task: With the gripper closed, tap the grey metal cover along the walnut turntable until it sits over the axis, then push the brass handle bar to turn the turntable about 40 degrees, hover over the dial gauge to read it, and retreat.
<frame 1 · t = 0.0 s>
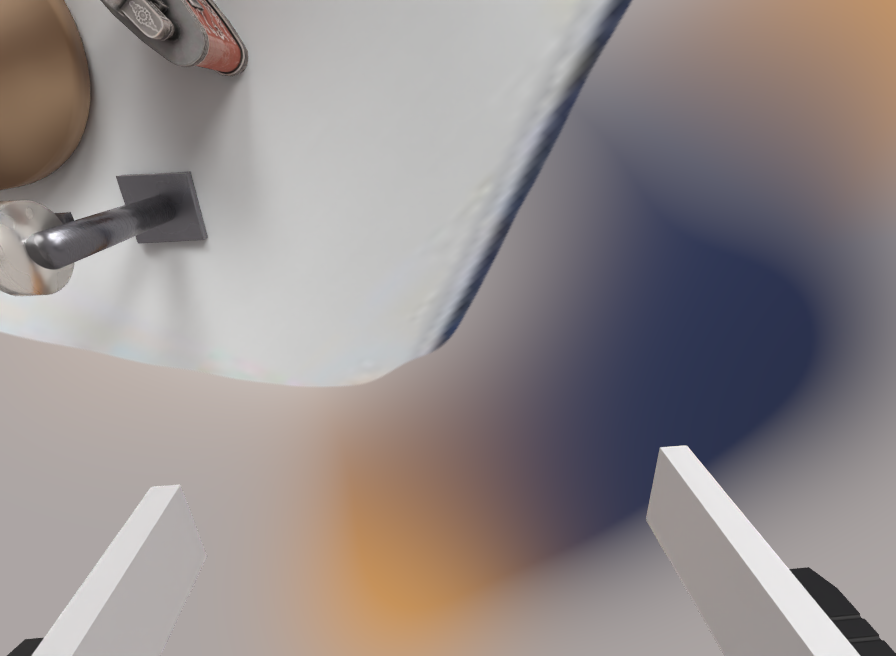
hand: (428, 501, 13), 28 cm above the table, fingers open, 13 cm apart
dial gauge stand: (166, 207, 36), on the table
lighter: (196, 18, 31), on the table
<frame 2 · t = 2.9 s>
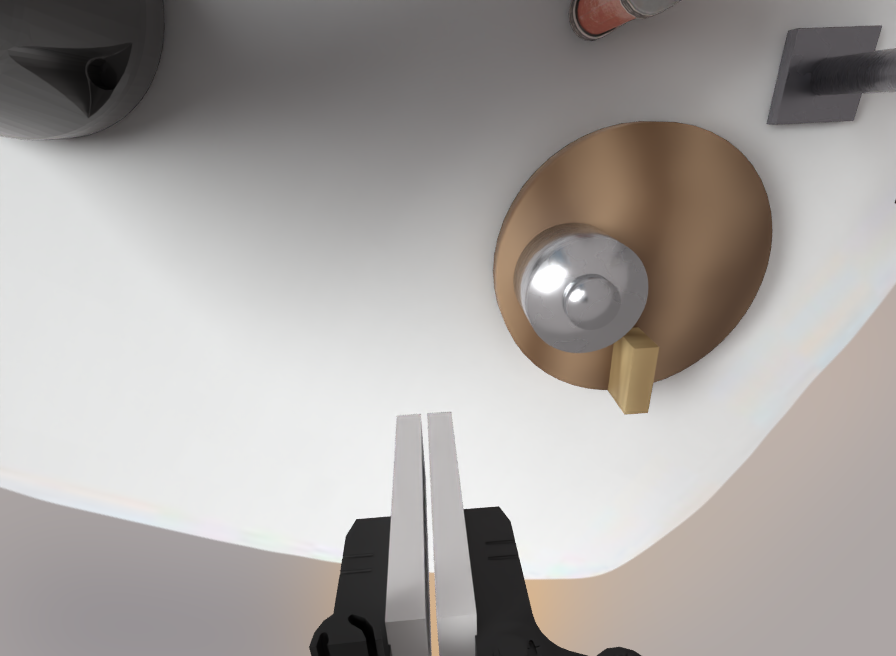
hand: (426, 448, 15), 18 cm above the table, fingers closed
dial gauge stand: (816, 77, 28), on the table
turntable: (638, 275, 30), point 3 cm above the table, hinge at 0.0°, touching cover
cover: (566, 276, 30), point 2 cm above the table, touching turntable
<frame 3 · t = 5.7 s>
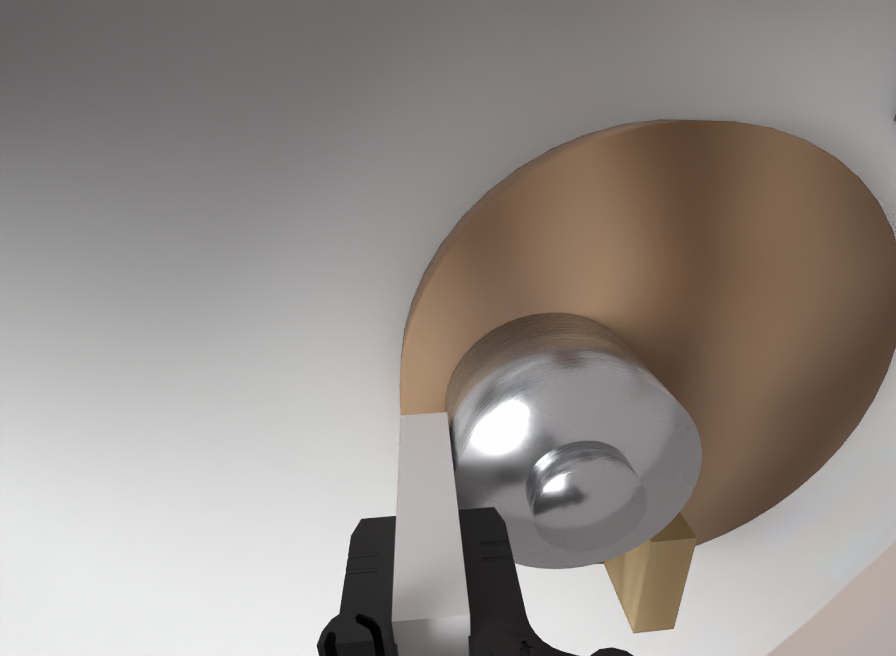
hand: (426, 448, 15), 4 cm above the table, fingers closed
turntable: (656, 400, 16), point 3 cm above the table, hinge at 0.0°
cover: (542, 402, 17), point 3 cm above the table, touching gripper
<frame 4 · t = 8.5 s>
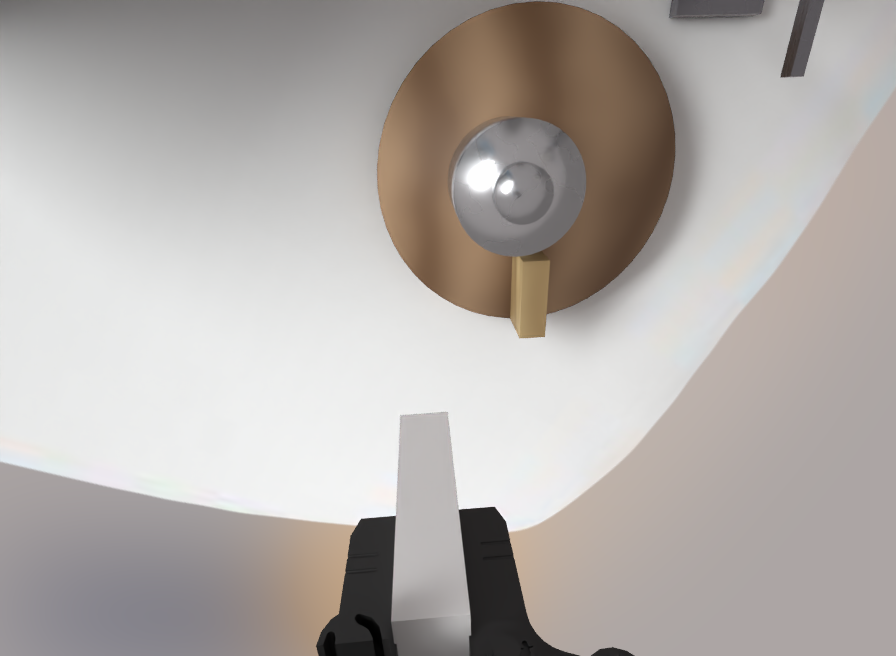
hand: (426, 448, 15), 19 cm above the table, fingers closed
turntable: (530, 183, 27), point 3 cm above the table, hinge at 0.0°, touching cover
cover: (505, 180, 28), point 2 cm above the table, touching turntable
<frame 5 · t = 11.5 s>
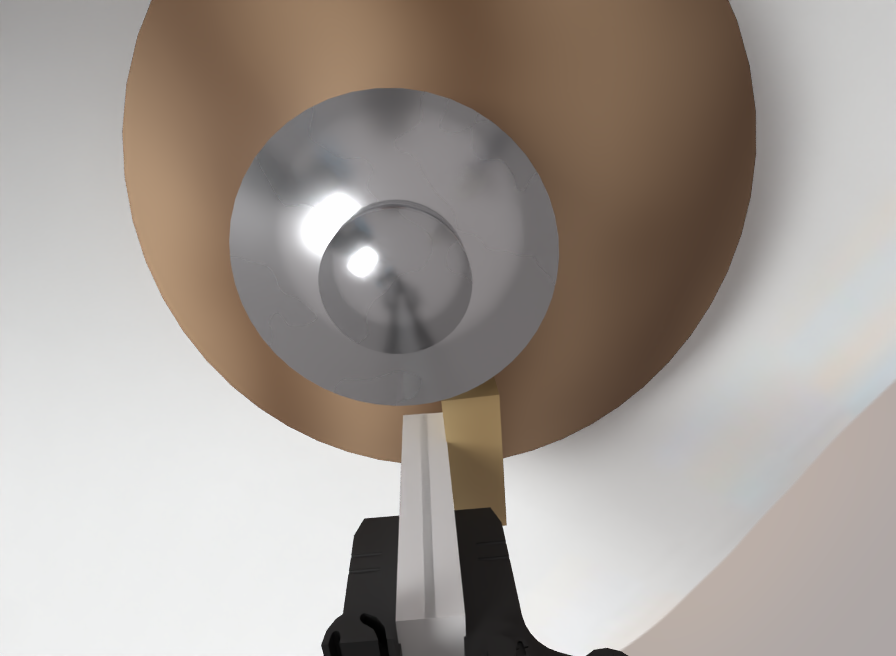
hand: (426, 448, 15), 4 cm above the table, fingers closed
turntable: (451, 232, 13), point 3 cm above the table, hinge at 2.8°, touching cover, gripper
cover: (403, 228, 14), point 2 cm above the table, touching turntable
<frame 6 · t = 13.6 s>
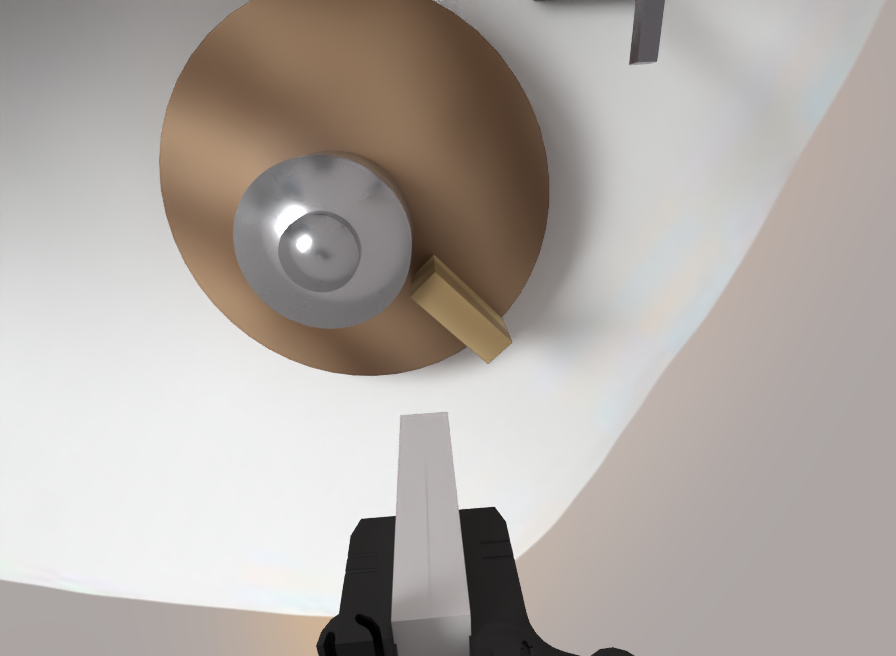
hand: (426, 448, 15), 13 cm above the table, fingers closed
turntable: (359, 211, 21), point 3 cm above the table, hinge at 43.6°, touching cover
cover: (340, 228, 22), point 2 cm above the table, touching turntable
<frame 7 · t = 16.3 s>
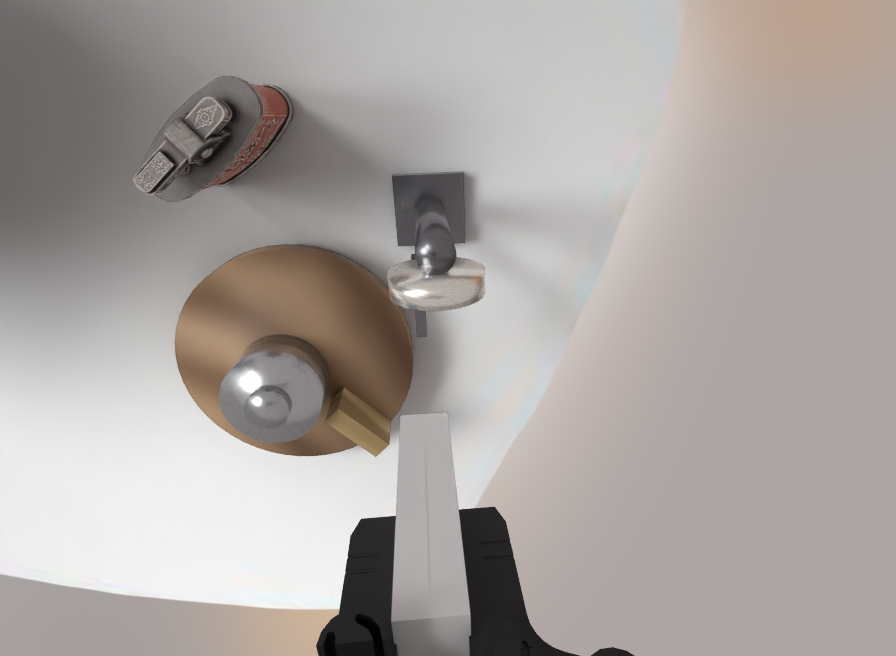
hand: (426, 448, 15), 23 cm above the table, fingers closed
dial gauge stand: (429, 208, 34), on the table
turntable: (295, 367, 35), point 3 cm above the table, hinge at 43.6°, touching cover
cover: (285, 374, 36), point 2 cm above the table, touching turntable
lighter: (247, 136, 31), on the table
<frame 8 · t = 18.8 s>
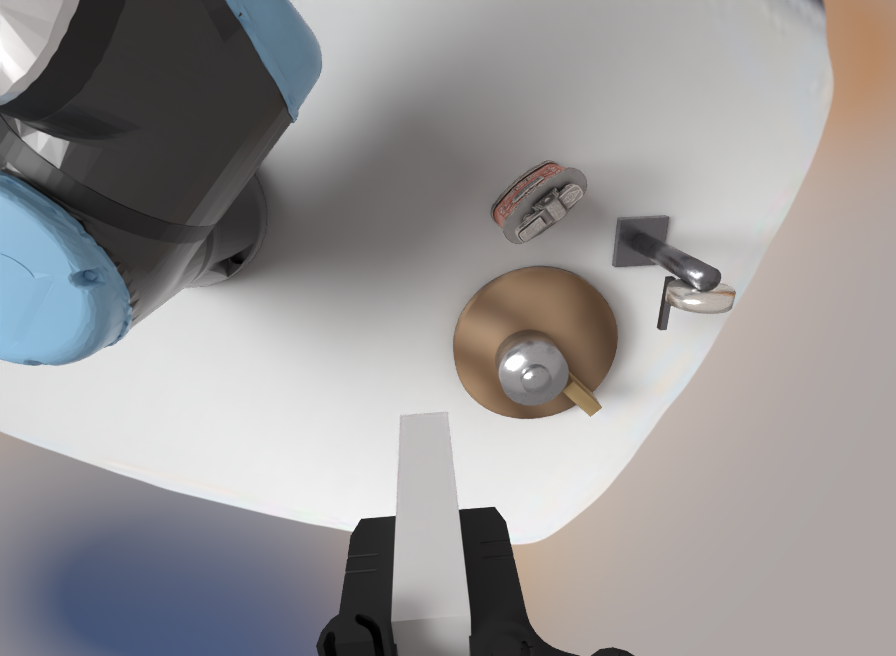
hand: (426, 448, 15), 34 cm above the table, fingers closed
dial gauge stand: (638, 240, 48), on the table
turntable: (537, 353, 50), point 3 cm above the table, hinge at 43.6°, touching cover
cover: (526, 358, 51), point 2 cm above the table, touching turntable
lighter: (525, 193, 46), on the table
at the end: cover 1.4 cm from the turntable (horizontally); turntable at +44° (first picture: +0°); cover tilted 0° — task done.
